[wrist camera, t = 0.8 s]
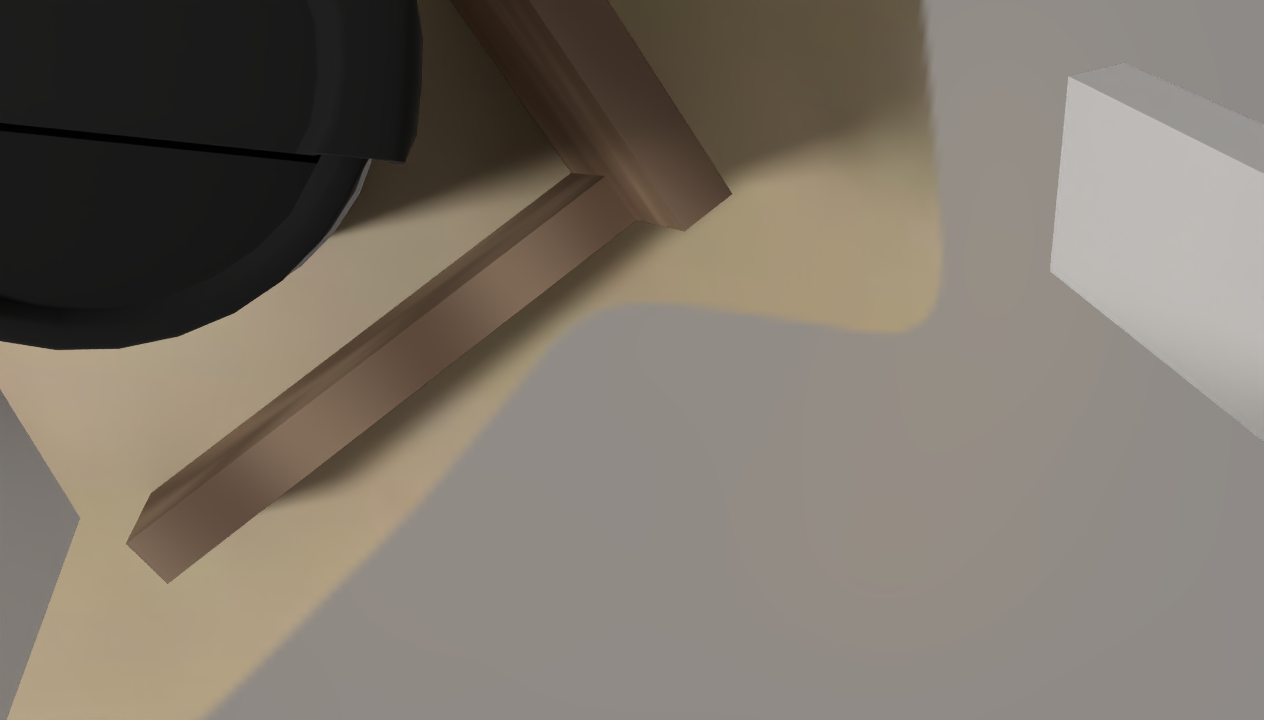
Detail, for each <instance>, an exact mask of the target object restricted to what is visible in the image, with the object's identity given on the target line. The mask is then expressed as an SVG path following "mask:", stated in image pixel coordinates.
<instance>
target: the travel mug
mask: <svg viewBox="0 0 1264 720" xmlns="http://www.w3.org/2000/svg"><path fill="white" fill-rule="evenodd" d="M422 47H423V36H422V30H421V24H420V18H419V12H418V6H417V0H0V341H3V342H10V343H16V344H22V345H28V346H35V347H41V348H47V349H53V350H77V349H120V348H125V347H129V346H134V345H139V344H144V343H149V342H153V341H158V340H163V339H168V338H173V337H178V336H181V335H183V334H185V333H188V332H190V331H193V330H195V329H197V328H200V327H202V326H205V325H207V324H209V323H212V322H214V321H217V320H219V319H221V318H224V317H226V316H229V315H231V314H233V313H235V312H236V311H238V310H239V309H241V308H242V307H244V306H245V305H247V304H248V303H250V302H251V301H253V300H254V299H256V298H257V297H259V296H260V295H262V294H263V293H265V292H266V291H268V290H269V289H271V288H272V287H274V286H275V285H277V284H278V283H280V282H281V281H282V280H283V279H284V278H285V277H286V276H287V275H289V274H290V273H292V272H293V271H294V270H296V269H297V268H299V267H300V266H302V265H303V264H304V263H305V262H306V261H307V260H308V259H309V258H310V257H311V256H312V255H313V254H314V252H315V251H316V250H317V249H318V248H319V247H320V246H321V245H322V244H323V243H324V242H325V241H326V240H327V239H328V238H329V237H330V236H331V235H332V234H333V233H334V232H335V230H336V229H337V227H338V226H339V224H340V223H341V221H342V220H343V218H344V217H345V215H346V214H347V212H348V211H349V209H350V208H351V206H352V204H353V203H354V201H355V200H356V198H357V197H358V195H359V193H360V191H361V188H362V186H363V183H364V180H365V178H366V175H367V172H368V170H369V167H370V164H371V161H372V159H376V160H385V161H389V163H398V164H404V163H405V161H406V158H407V156H408V154H409V151H410V149H411V147H412V144H413V142H414V140H415V137H416V134H417V125H418V115H419V105H420V96H421V84H422Z"/></svg>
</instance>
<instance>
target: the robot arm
mask: <svg viewBox="0 0 1264 720" xmlns="http://www.w3.org/2000/svg"><path fill="white" fill-rule="evenodd" d="M1050 271H1051V272H1052V273H1053V274H1054V275H1056V276H1057V277H1058V278H1059V279H1061V280H1062V281H1063V282H1065V283H1066V284H1067V285H1068V286H1069V287H1071V288H1072V289H1073V290H1074V291H1076V292H1077V293H1078V294H1079V295H1081V296H1082V297H1083V298H1084V299H1086V300H1087V301H1088V302H1089V303H1091V304H1092V305H1093V306H1095V307H1096V308H1097V309H1098V310H1100V311H1101V312H1102V313H1103V314H1104V315H1106V316H1107V317H1108V318H1109V319H1111V320H1112V321H1113V322H1114V323H1116V324H1117V325H1118V326H1119V327H1121V328H1122V329H1123V330H1124V331H1126V332H1127V333H1128V334H1130V335H1131V336H1132V337H1133V338H1135V339H1136V340H1137V341H1138V342H1140V343H1141V344H1142V345H1143V346H1145V347H1146V348H1147V349H1148V350H1150V351H1151V352H1152V353H1153V354H1155V355H1156V356H1157V357H1158V358H1160V359H1161V360H1162V361H1163V362H1165V363H1166V364H1167V365H1168V366H1170V367H1171V368H1172V369H1173V370H1175V371H1176V372H1177V373H1178V374H1180V375H1181V376H1182V377H1183V378H1185V379H1186V380H1187V381H1188V382H1190V383H1191V384H1192V385H1193V386H1195V387H1196V388H1197V389H1199V390H1200V391H1201V392H1202V393H1203V394H1205V395H1206V396H1207V397H1208V398H1210V399H1211V400H1212V401H1213V402H1215V403H1216V404H1217V405H1218V406H1220V407H1221V408H1222V409H1223V410H1225V411H1226V412H1227V413H1228V414H1230V415H1231V416H1232V417H1234V418H1235V419H1236V420H1237V421H1239V422H1240V423H1241V424H1242V425H1244V426H1245V427H1246V428H1247V429H1249V430H1250V431H1251V432H1252V433H1253V434H1255V435H1256V436H1257V437H1259V438H1260V439H1261V440H1262V441H1263V442H1264V124H1263V123H1260V122H1258V121H1256V120H1254V119H1251V118H1249V117H1247V116H1244V115H1242V114H1240V113H1238V112H1235V111H1233V110H1231V109H1229V108H1226V107H1224V106H1222V105H1220V104H1217V103H1215V102H1213V101H1211V100H1208V99H1206V98H1204V97H1202V96H1199V95H1197V94H1195V93H1193V92H1190V91H1188V90H1186V89H1184V88H1181V87H1179V86H1177V85H1175V84H1172V83H1170V82H1168V81H1166V80H1163V79H1161V78H1159V77H1156V76H1154V75H1152V74H1150V73H1148V72H1145V71H1143V70H1141V69H1139V68H1136V67H1134V66H1132V65H1130V64H1127V63H1123V64H1118V65H1114V66H1110V67H1105V68H1101V69H1097V70H1092V71H1088V72H1084V73H1080V74H1076V75H1072V76H1068V87H1067V96H1066V107H1065V118H1064V129H1063V140H1062V150H1061V161H1060V171H1059V182H1058V192H1057V203H1056V214H1055V225H1054V235H1053V245H1052V256H1051V267H1050ZM79 519H80V517H79V515H78V514H77V512H76V511H75V509H74V507H73V506H72V504H71V503H70V501H69V499H68V498H67V496H66V494H65V493H64V491H63V490H62V488H61V486H60V485H59V483H58V482H57V480H56V478H55V477H54V475H53V474H52V472H51V470H50V469H49V467H48V466H47V464H46V462H45V461H44V459H43V458H42V456H41V454H40V453H39V451H38V450H37V448H36V446H35V445H34V443H33V441H32V440H31V438H30V437H29V435H28V433H27V432H26V430H25V429H24V427H23V425H22V424H21V422H20V421H19V419H18V417H17V416H16V414H15V413H14V411H13V409H12V408H11V406H10V405H9V403H8V401H7V400H6V398H5V397H4V395H3V393H2V392H1V390H0V720H6V719H7V717H8V714H9V711H10V708H11V706H12V703H13V700H14V698H15V695H16V692H17V689H18V687H19V684H20V681H21V678H22V676H23V673H24V670H25V667H26V665H27V662H28V659H29V656H30V654H31V651H32V648H33V645H34V643H35V640H36V637H37V634H38V632H39V629H40V626H41V624H42V621H43V618H44V615H45V613H46V610H47V607H48V604H49V602H50V599H51V596H52V593H53V591H54V588H55V585H56V582H57V580H58V577H59V574H60V571H61V569H62V566H63V563H64V561H65V558H66V555H67V552H68V550H69V547H70V544H71V541H72V539H73V536H74V533H75V530H76V528H77V525H78V522H79Z"/></svg>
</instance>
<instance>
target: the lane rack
mask: <svg viewBox="0 0 1264 720" xmlns="http://www.w3.org/2000/svg"><path fill="white" fill-rule="evenodd" d="M450 1H451V2H452V3H453V5H454V6H455V8H456V9H457V11H458V12H459V13H460V15H461V16H462V18H463V19H464V21H465V22H466V23H467V25H468V26H469V28H470V29H471V30H472V32H473V33H474V35H475V36H476V38H477V39H478V40H479V42H480V43H481V45H482V46H483V48H484V49H485V50H486V52H487V53H488V55H489V56H490V58H491V59H492V60H493V62H494V63H495V65H496V66H497V67H498V69H499V70H500V72H501V73H502V75H503V76H504V77H505V79H506V80H507V82H508V83H509V85H510V86H511V87H512V89H513V90H514V92H515V93H516V95H517V96H518V97H519V99H520V100H521V102H522V103H523V104H524V106H525V107H526V109H527V110H528V112H529V113H530V114H531V116H532V117H533V119H534V120H535V122H536V123H537V124H538V126H539V127H540V129H541V130H542V132H543V133H544V134H545V136H546V137H547V139H548V140H549V141H550V143H551V144H552V146H553V147H554V149H555V150H556V151H557V153H558V154H559V156H560V157H561V159H562V160H563V161H564V163H565V164H566V166H567V167H568V169H569V170H570V171H571V174H569V175H568V176H567V177H565V178H564V179H563V180H561V181H560V182H559V183H558V184H556V185H555V186H554V187H552V188H551V189H550V190H548V191H547V192H546V193H544V194H543V195H542V196H541V197H539V198H538V199H537V200H535V201H534V202H533V203H531V204H530V205H529V206H527V207H526V208H525V209H523V210H522V211H521V212H520V213H518V214H517V215H516V216H514V217H513V218H512V219H510V220H509V221H508V222H506V223H505V224H504V225H502V226H501V227H500V228H499V229H497V230H496V231H495V232H493V233H492V234H491V235H489V236H488V237H487V238H485V239H484V240H483V241H481V242H480V243H479V244H478V245H476V246H475V247H474V248H472V249H471V250H470V251H468V252H467V253H466V254H464V255H463V256H462V257H460V258H459V259H458V260H457V261H455V262H454V263H453V264H451V265H450V266H449V267H447V268H446V269H445V270H443V271H442V272H441V273H440V274H438V275H437V276H436V277H434V278H433V279H432V280H430V281H429V282H428V283H426V284H425V285H424V286H422V287H421V288H420V289H419V290H417V291H416V292H415V293H413V294H412V295H411V296H409V297H408V298H407V299H405V300H404V301H403V302H401V303H400V304H399V305H398V306H396V307H395V308H394V309H392V310H391V311H390V312H388V313H387V314H386V315H384V316H383V317H382V318H380V319H379V320H378V321H377V322H375V323H374V324H373V325H371V326H370V327H369V328H367V329H366V330H365V331H363V332H362V333H361V334H360V335H358V336H357V337H356V338H354V339H353V340H352V341H350V342H349V343H348V344H346V345H345V346H344V347H342V348H341V349H340V350H339V351H337V352H336V353H335V354H333V355H332V356H331V357H329V358H328V359H327V360H325V361H324V362H323V363H321V364H320V365H319V366H318V367H316V368H315V369H314V370H312V371H311V372H310V373H308V374H307V375H306V376H304V377H303V378H302V379H300V380H299V381H298V382H297V383H295V384H294V385H293V386H291V387H290V388H289V389H287V390H286V391H285V392H283V393H282V394H281V395H279V396H278V397H277V398H276V399H274V400H273V401H272V402H270V403H269V404H268V405H266V406H265V407H264V408H262V409H261V410H260V411H259V412H257V413H256V414H255V415H253V416H252V417H251V418H249V419H248V420H247V421H245V422H244V423H243V424H241V425H240V426H239V427H238V428H236V429H235V430H234V431H232V432H231V433H230V434H228V435H227V436H226V437H224V438H223V439H222V440H220V441H219V442H218V443H217V444H215V445H214V446H213V447H211V448H210V449H209V450H207V451H206V452H205V453H203V454H202V455H201V456H199V457H198V458H197V459H196V460H194V461H193V462H192V463H190V464H189V465H188V466H186V467H185V468H184V469H182V470H181V471H180V472H179V473H177V474H176V475H175V476H173V477H172V478H171V479H169V480H168V481H167V482H165V483H164V484H163V485H161V486H160V487H159V488H158V489H156V490H155V491H154V492H152V493H151V494H150V496H149V498H148V500H147V502H146V504H145V506H144V508H143V510H142V512H141V514H140V516H139V518H138V520H137V522H136V524H135V526H134V528H133V530H132V532H131V534H130V536H129V538H128V541H127V543H126V544H127V545H128V546H129V547H130V548H131V549H132V550H133V551H134V552H135V553H136V554H137V555H138V556H139V557H140V558H141V559H142V560H143V561H144V562H145V563H147V564H148V565H149V566H150V567H151V568H152V569H153V570H154V571H155V572H156V573H157V574H158V575H159V576H160V577H161V578H162V579H163V580H164V581H165V582H166V583H167V584H168V583H169V582H171V581H172V580H173V579H174V578H176V577H177V576H178V575H180V574H181V573H182V572H183V571H185V570H186V569H187V568H189V567H190V566H191V565H192V564H194V563H195V562H196V561H198V560H199V559H200V558H201V557H203V556H204V555H205V554H207V553H208V552H209V551H210V550H212V549H213V548H214V547H216V546H217V545H218V544H220V543H221V542H222V541H223V540H225V539H226V538H227V537H229V536H230V535H231V534H232V533H234V532H235V531H236V530H238V529H239V528H240V527H241V526H243V525H244V524H245V523H247V522H248V521H249V520H250V519H252V518H253V517H254V516H256V515H257V514H258V513H259V512H261V511H262V510H263V509H265V508H266V507H267V506H268V505H270V504H271V503H272V502H274V501H275V500H276V499H277V498H279V497H280V496H281V495H283V494H284V493H285V492H287V491H288V490H289V489H290V488H292V487H293V486H294V485H296V484H297V483H298V482H299V481H301V480H302V479H303V478H305V477H306V476H307V475H308V474H310V473H311V472H312V471H314V470H315V469H316V468H317V467H319V466H320V465H321V464H323V463H324V462H325V461H326V460H328V459H329V458H330V457H332V456H333V455H334V454H335V453H337V452H338V451H339V450H341V449H342V448H343V447H344V446H346V445H347V444H348V443H350V442H351V441H352V440H354V439H355V438H356V437H357V436H359V435H360V434H361V433H363V432H364V431H365V430H366V429H368V428H369V427H370V426H372V425H373V424H374V423H375V422H377V421H378V420H379V419H381V418H382V417H383V416H384V415H386V414H387V413H388V412H390V411H391V410H392V409H393V408H395V407H396V406H397V405H399V404H400V403H401V402H402V401H404V400H405V399H406V398H408V397H409V396H410V395H412V394H413V393H414V392H415V391H417V390H418V389H419V388H421V387H422V386H423V385H424V384H426V383H427V382H428V381H430V380H431V379H432V378H433V377H435V376H436V375H437V374H439V373H440V372H441V371H442V370H444V369H445V368H446V367H448V366H449V365H450V364H451V363H453V362H454V361H455V360H457V359H458V358H459V357H460V356H462V355H463V354H464V353H466V352H467V351H468V350H469V349H471V348H472V347H473V346H475V345H476V344H477V343H479V342H480V341H481V340H482V339H484V338H485V337H486V336H488V335H489V334H490V333H491V332H493V331H494V330H495V329H497V328H498V327H499V326H500V325H502V324H503V323H504V322H506V321H507V320H508V319H509V318H511V317H512V316H513V315H515V314H516V313H517V312H518V311H520V310H521V309H522V308H524V307H525V306H526V305H527V304H529V303H530V302H531V301H533V300H534V299H535V298H536V297H538V296H539V295H540V294H542V293H543V292H544V291H546V290H547V289H548V288H549V287H551V286H552V285H553V284H555V283H556V282H557V281H558V280H560V279H561V278H562V277H564V276H565V275H566V274H567V273H569V272H570V271H571V270H573V269H574V268H575V267H576V266H578V265H579V264H580V263H582V262H583V261H584V260H585V259H587V258H588V257H589V256H591V255H592V254H593V253H594V252H596V251H597V250H598V249H600V248H601V247H602V246H604V245H605V244H606V243H607V242H609V241H610V240H611V239H613V238H614V237H615V236H616V235H618V234H619V233H620V232H622V231H623V230H624V229H625V228H627V227H628V226H629V225H631V224H632V223H633V222H634V221H636V220H637V221H642V222H646V223H650V224H655V225H659V226H664V227H668V228H673V229H677V230H681V231H685V230H687V229H688V228H689V227H691V226H692V225H693V224H694V223H696V222H697V221H698V220H700V219H701V218H702V217H703V216H705V215H706V214H707V213H708V212H710V211H711V210H712V209H714V208H715V207H716V206H717V205H719V204H720V203H721V202H723V201H724V200H725V199H726V198H728V197H729V196H730V195H731V194H732V193H731V191H730V190H729V188H728V187H727V185H726V183H725V182H724V180H723V179H722V177H721V176H720V174H719V173H718V171H717V169H716V168H715V166H714V165H713V163H712V162H711V160H710V159H709V157H708V155H707V154H706V152H705V151H704V149H703V148H702V146H701V145H700V143H699V141H698V140H697V138H696V137H695V135H694V134H693V132H692V131H691V129H690V128H689V126H688V124H687V123H686V121H685V120H684V118H683V117H682V115H681V114H680V112H679V110H678V109H677V107H676V106H675V104H674V103H673V101H672V100H671V98H670V96H669V95H668V93H667V92H666V90H665V89H664V87H663V86H662V84H661V82H660V81H659V79H658V78H657V76H656V75H655V73H654V72H653V70H652V68H651V67H650V65H649V64H648V62H647V61H646V59H645V58H644V56H643V54H642V53H641V51H640V50H639V48H638V47H637V45H636V44H635V42H634V40H633V39H632V37H631V36H630V34H629V33H628V31H627V30H626V28H625V27H624V25H623V23H622V22H621V20H620V19H619V17H618V16H617V14H616V13H615V11H614V9H613V8H612V6H611V5H610V3H609V2H608V0H450Z"/></svg>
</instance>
